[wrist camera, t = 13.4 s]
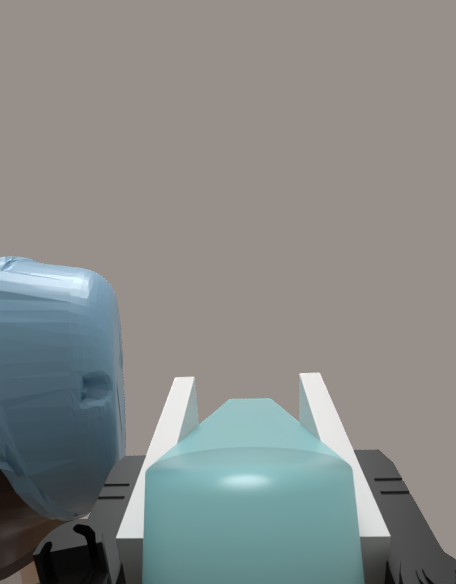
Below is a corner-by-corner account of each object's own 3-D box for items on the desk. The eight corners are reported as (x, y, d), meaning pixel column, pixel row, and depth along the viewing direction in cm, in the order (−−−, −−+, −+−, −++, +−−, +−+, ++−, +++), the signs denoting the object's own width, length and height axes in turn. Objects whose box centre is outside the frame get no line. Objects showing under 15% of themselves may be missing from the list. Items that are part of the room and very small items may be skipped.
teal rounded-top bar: (436, 888, 4) (386, 495, 5) (92, 872, 4) (111, 498, 5) (271, 437, 35) (269, 396, 36) (232, 438, 36) (230, 397, 37)
